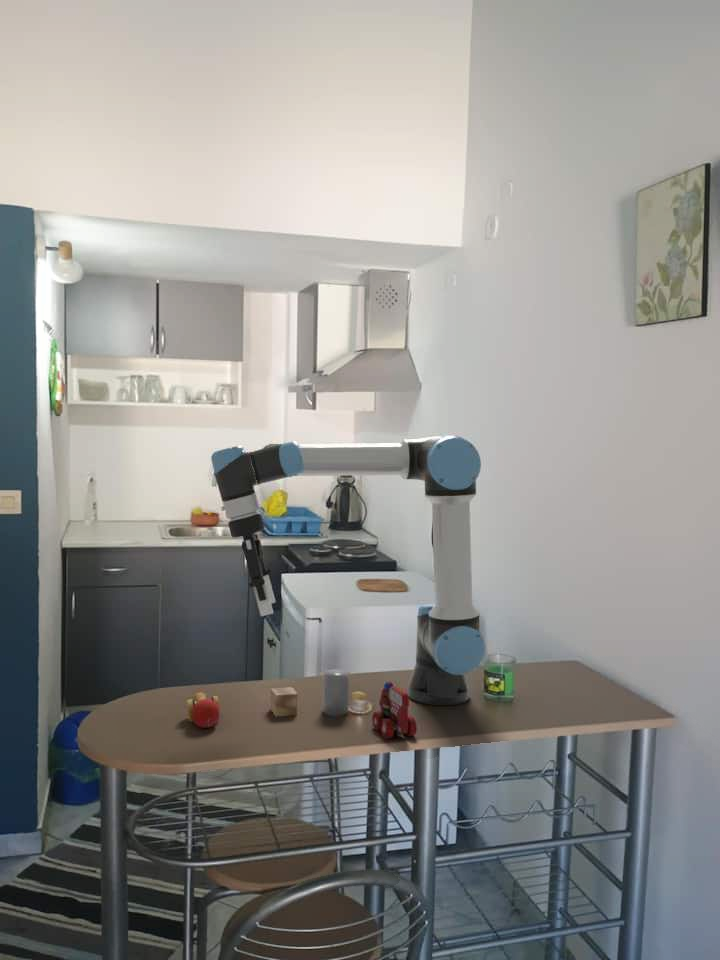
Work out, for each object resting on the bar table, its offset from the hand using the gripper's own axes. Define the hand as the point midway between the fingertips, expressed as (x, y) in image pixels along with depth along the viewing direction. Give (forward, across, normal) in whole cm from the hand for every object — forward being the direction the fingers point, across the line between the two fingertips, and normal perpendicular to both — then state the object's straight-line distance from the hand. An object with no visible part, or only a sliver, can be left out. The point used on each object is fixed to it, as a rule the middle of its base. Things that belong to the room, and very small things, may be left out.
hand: (268, 609), depth 185 cm
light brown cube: (+25, -6, -3) cm, 26 cm away
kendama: (+20, -2, -21) cm, 29 cm away
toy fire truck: (+32, +6, +20) cm, 38 cm away
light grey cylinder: (+28, -7, +8) cm, 30 cm away
